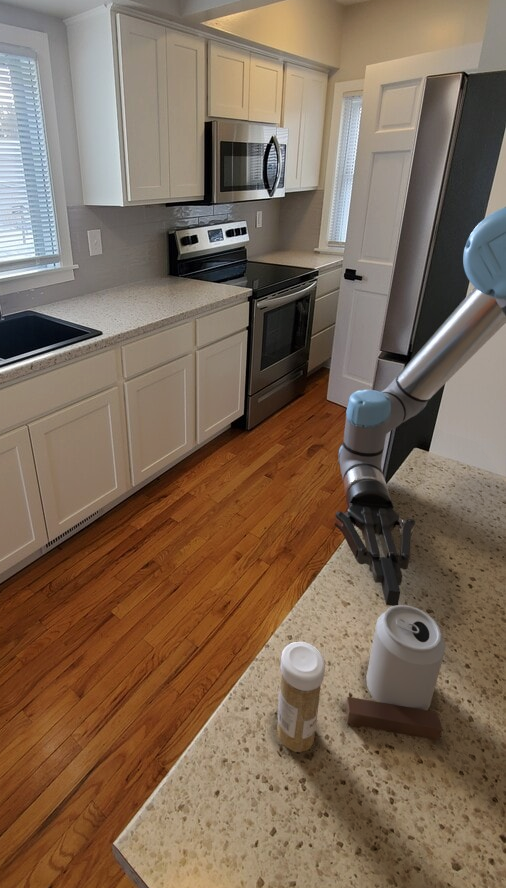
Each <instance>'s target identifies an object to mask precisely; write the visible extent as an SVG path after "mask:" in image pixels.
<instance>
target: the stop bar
mask: <svg viewBox="0 0 506 888" xmlns="http://www.w3.org/2000/svg"><path fill="white" fill-rule="evenodd" d="M344 708H345V717H346V718H345V719H346V724H347V725H348V726H349V725H351V726H354V727H361V728H367V729H372V730H376V731H377V730H378V731H382V732H388V733H395V734H399V735H406V736H411V737H415V738H416V737H417V738H420V739H421V738H422V739H427V740H433V741H437V742H438V741H440V737H441V735H442V731H443V728H442V724H441V721H440V718H439V717H440V716H439V714H438V711H433V710H429V709H428V710H422V709H416V708H411V707H405V706H399V705H393V704H387V703H382V702H376V700H370V699H363V698H357V697H351V696H346V701H345V707H344Z"/></svg>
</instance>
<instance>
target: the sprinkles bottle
mask: <svg viewBox="0 0 506 888" xmlns="http://www.w3.org/2000/svg"><path fill="white" fill-rule="evenodd" d="M280 657H281V658H280V666H279V667H280V673H281V675H280V676H281V677H280V682H279V690H278V691H279V692H278V703H277V705H278V706H277V727H276V731H277V736H278V738H279V741H280V743H282V744H283V746H284V747H285V748H287V749H288V750H290V751H292V752H294V753H303V752H307V751H308V750H310V749H311V747H312V746H313V744H314V741H315V735H316V728H317V723H318V714H319V707H320V706H319V705H320V695H321V694H320V693H321V688H322V687H321V685H322V683H323V681H324V678H325V670H326V662H325V659H324V656H323V654H322V653H321V652H320V651H319V650H318V648H317V647H315V646H314V645H312V644H310V643H308V642H304V641H294V642H291V643H288V644H287V645H286V646H285V647H284V648H283V650H282V652H281V656H280Z"/></svg>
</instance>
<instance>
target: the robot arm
mask: <svg viewBox="0 0 506 888" xmlns="http://www.w3.org/2000/svg"><path fill="white" fill-rule="evenodd" d="M462 256H463V257H462V260H463V261H462V262H463V269H464V273H465V275H466V277H467V279H468V281H469V282H470V284H471V285H472V286H473V289H472V290H471V291H470V292H469V294H468V295H466V297H465V298H464V299H463V300H462V301H461V302H460V303H459V305H458V306H457V307H456V308H455V309H454V311H453V312H452V313H451V314H450V315H448V317H447V318H446V319H445V321H444V322H443V323H442V324H441V325H440V326H439V327H438V328H437V330H436V331H435V332H434V334H432V335H431V336H430V338H429V339H428V340H427V341H426V342H425V344H424V345H423V346H422V347H421V348H420V349H419V351H417V353H416V354H415V355H414V356H413V357H412V358H411V360H410V361H409V362H408V363H407V364H406V366H404V368H402V370H401V371H400V372H399V373H398V375H397V376H396V377H395V378H394V379H393V380H392V382H390V384H388V386H387V387H386V388H385V389H383V390H381V391H379V390H374V389H362V390H356V391H354V392H353V393H351V395H350V396H349V399H348V403H347V407H346V410H345V424H344V432H343V441H342V444H341V446H340V447H339V448H338V459H337V460H338V461H337V462H338V465H339V468H340V473H341V478H342V483H343V488H344V489H343V490H344V494H345V500H346V501H345V502H346V505H347V509H346V512H342V511H339V510H338V511H335V516H334V517H335V518H334V526H335V527H336V528H337V529H338V530H339V531H340V532H341V534H342V535H343V538H344V539H345V541H346V543H347V545H348V547H349V549H350V551H351V553H352V555H353V556H354V559H355V561H356V562H357V564H359V565H365V564H366V565H368V566H369V568H368V571H369V572H370V573H371V574H372V578H373V581H374V582H375V583H380V584H381V589H382V593H383V598H384V601H385V605H386V606H390V607H393V606H397V605H399V602H400V597H401V589H400V586H401V585H402V580H403V573H402V570H403V571H404V570H408V567H409V563H410V557H411V545H412V544H411V543H412V542H411V541H412V536H413V535H414V531H415V526H416V520H415V519H413V518H407V519H406V520H405V519H403V518H401V517H400V513H398V512H397V510H395V507H394V504H393V501H392V497H391V494H390V491H389V488H388V485H387V482H386V479H385V476H384V473H383V472H384V471H383V469H382V461H383V454H384V451H385V450H384V449H385V443H386V437H387V434H388V433H390V432H392V431H393V430H394V429H396V428H398V427H399V426H401V425H402V424H403V423H405V422H406V421H408V420H409V419H411V418H414V417H415V416H417V415H418V414H419V413H421V412H422V411H423V410H424V409H425V408H426V406H427V404H428V402H429V401H430V400H431V398H433V397H434V395H436V394H437V392H439V390H440V389H441V388H442V387H444V385H445V384H447V382H448V381H450V379H452V378H453V376H454V375H455V374H456V373H458V371H459V370H460V369H461V368H463V366H464V365H466V363H467V362H469V360H470V359H471V358H472V357H473V356H474V355H476V353H478V352H479V350H480V349H481V348H482V347H483V346H484V345H485V344H486V343H487V342H488V341H489V340H491V339H492V338H493V336H494V335H495V334H496V333H497V332H498V331H499V330H501V328H502V327H504V325H505V324H506V206H504V207H502V208H500V209H497V210H495V211H494V212H491V213H490V214H488V215H487V216H486V217H485V218H483V219H482V220H481V221H480V222H478V224H477V225H476V226H475V228H474V229H473V230H472V232H471V233H470V235H469V237H468V238H467V240H466V244H465V247H464V249H463V255H462ZM397 526H398V530H399V534H401V535H400V544H399V545H400V546H399V552H398V551H397V548H396V545H395V540H394V537H393V534H392V531H394V529H395V528H396V527H397ZM356 528H357V529H358V530H360V532H361V535H362V536H361V537H362V538H361V537H360V535H359V533H358V530H357V529H356ZM377 538H378V540H379V542H380V545H381V549H382V552H383V556H381V553H380V548H379V543H378V541H377ZM362 539H363V540H364V541H363V540H362Z"/></svg>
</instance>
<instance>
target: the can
mask: <svg viewBox="0 0 506 888" xmlns="http://www.w3.org/2000/svg"><path fill="white" fill-rule="evenodd" d="M445 652H446V643H445V640H444V637H443V634H442V631H441V629H440V626H439V624H438V623H437V621H436V620H435V619H434V618H433V617H431V616H430V615H429V613H427V612H425V611H424V610H421V609H420V608H417V607H415V606H412V605H405V604H398V605H397V606H390V607H388V609H386V611H385V612H382V613H381V614H380V616H378V618H377V620H376V623H375V628H374V635H373V640H372V645H371V650H370V656H369V660H368V666H367V671H366V675H365V676H366V677H365V679H366V686H367V689H368V691H369V694H370V696H371V697H372V698H373V700H374V701H376V702H382V703H387V704H393V705H399V706H405V707H411V708H416V709H422V710H428V711H429V708H430V707H431V703H432V700H433V696H434V693H435V689H436V686H437V682H438V678H439V674H440V671H441V667H442V664H443V660H444V657H445Z"/></svg>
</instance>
